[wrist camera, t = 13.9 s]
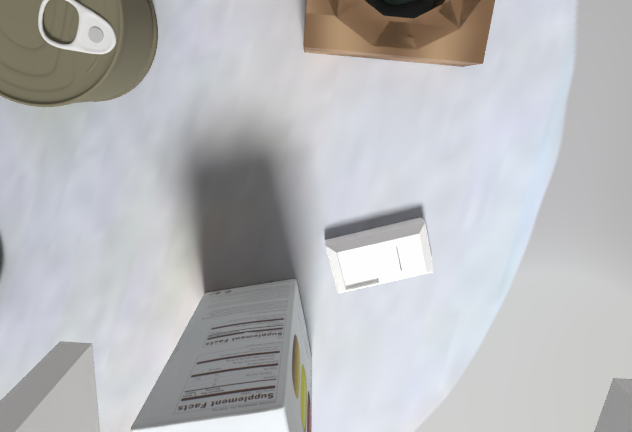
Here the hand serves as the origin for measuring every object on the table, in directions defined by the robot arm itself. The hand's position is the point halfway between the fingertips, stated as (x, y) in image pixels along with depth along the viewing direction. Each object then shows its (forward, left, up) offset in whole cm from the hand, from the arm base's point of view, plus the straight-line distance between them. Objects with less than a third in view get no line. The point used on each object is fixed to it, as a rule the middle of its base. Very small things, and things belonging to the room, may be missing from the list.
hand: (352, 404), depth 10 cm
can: (-20, +11, -27) cm, 35 cm away
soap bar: (+6, -6, -27) cm, 29 cm away
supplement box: (-5, -15, -27) cm, 31 cm away
